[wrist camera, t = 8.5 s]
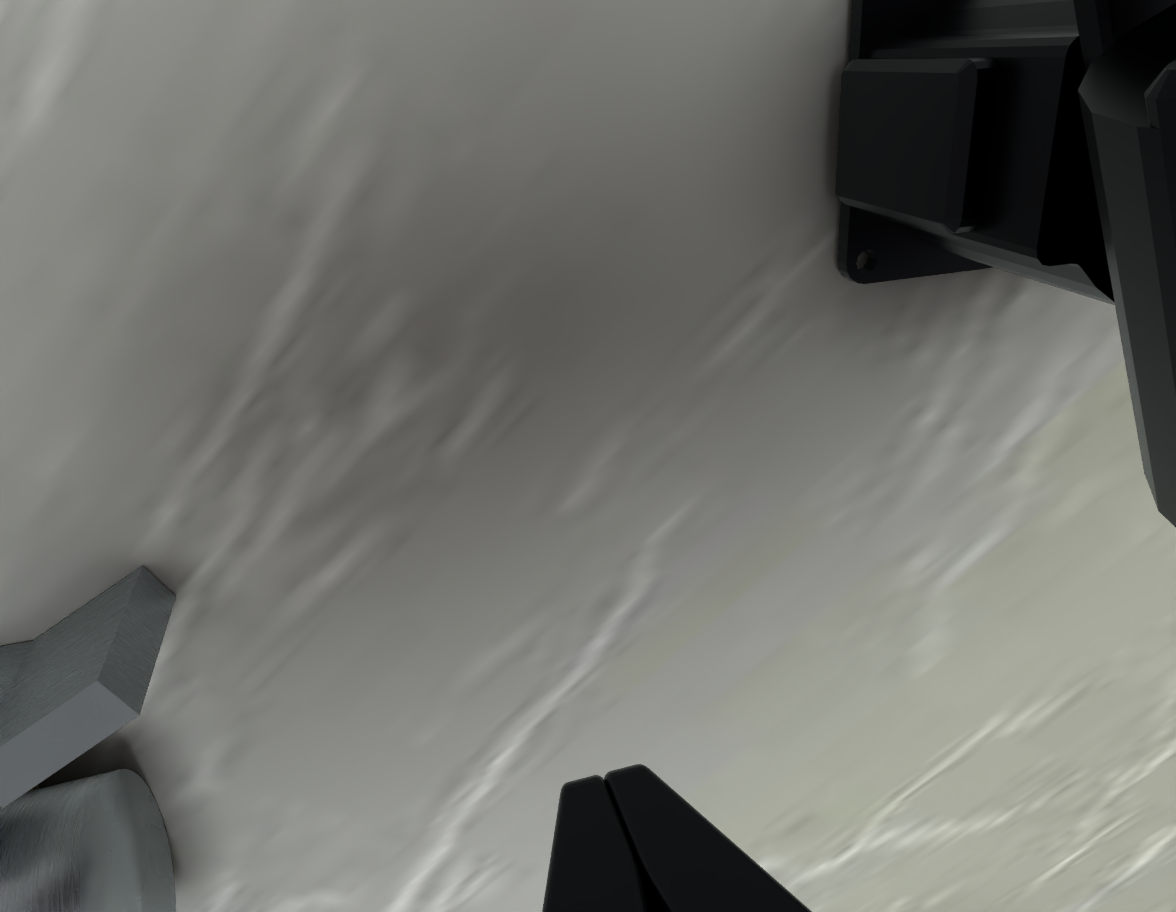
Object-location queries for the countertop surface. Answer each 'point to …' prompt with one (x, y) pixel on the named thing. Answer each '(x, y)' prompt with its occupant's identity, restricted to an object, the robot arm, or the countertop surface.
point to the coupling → (78, 680)
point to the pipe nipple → (86, 848)
